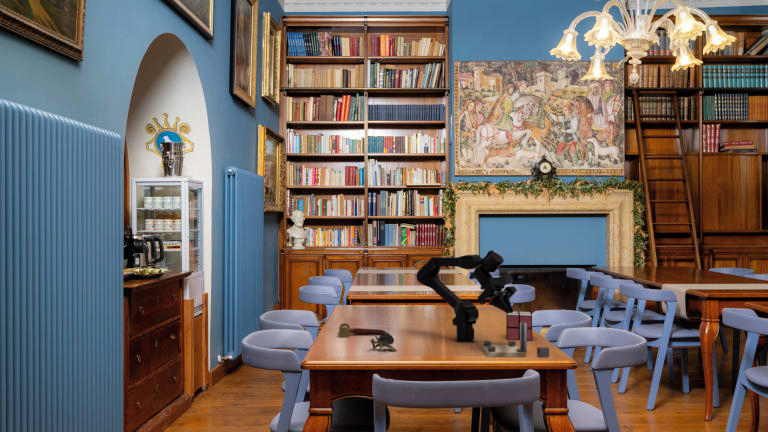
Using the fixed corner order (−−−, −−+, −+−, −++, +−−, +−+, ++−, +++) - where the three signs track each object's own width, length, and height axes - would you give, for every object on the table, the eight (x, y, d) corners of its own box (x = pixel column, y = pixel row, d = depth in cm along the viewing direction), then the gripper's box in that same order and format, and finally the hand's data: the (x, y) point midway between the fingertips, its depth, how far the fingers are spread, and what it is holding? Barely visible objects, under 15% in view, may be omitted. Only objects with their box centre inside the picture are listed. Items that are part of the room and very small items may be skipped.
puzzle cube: (532, 341, 219) (532, 315, 220) (506, 339, 221) (506, 315, 222) (530, 336, 229) (530, 312, 229) (506, 335, 231) (506, 311, 231)
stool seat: (487, 356, 192) (487, 322, 193) (481, 348, 205) (481, 316, 206) (526, 357, 192) (526, 322, 192) (518, 348, 205) (518, 316, 205)
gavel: (388, 325, 236) (390, 330, 226) (387, 336, 236) (389, 341, 226) (339, 322, 235) (339, 327, 225) (338, 333, 235) (338, 338, 225)
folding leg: (526, 354, 195) (526, 326, 195) (519, 353, 195) (519, 325, 196) (526, 350, 201) (526, 322, 201) (520, 349, 202) (520, 322, 202)
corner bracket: (537, 355, 194) (537, 347, 194) (546, 355, 195) (546, 346, 195) (539, 357, 192) (539, 348, 192) (549, 356, 193) (549, 348, 193)
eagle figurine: (370, 350, 197) (394, 346, 196) (368, 331, 201) (392, 327, 200) (375, 357, 203) (398, 353, 202) (373, 339, 207) (397, 335, 206)
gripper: (484, 267, 202) (510, 301, 194) (512, 265, 215) (537, 296, 207) (467, 287, 208) (491, 320, 199) (495, 284, 221) (519, 314, 212)
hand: (511, 312), depth 204 cm, fingers closed
